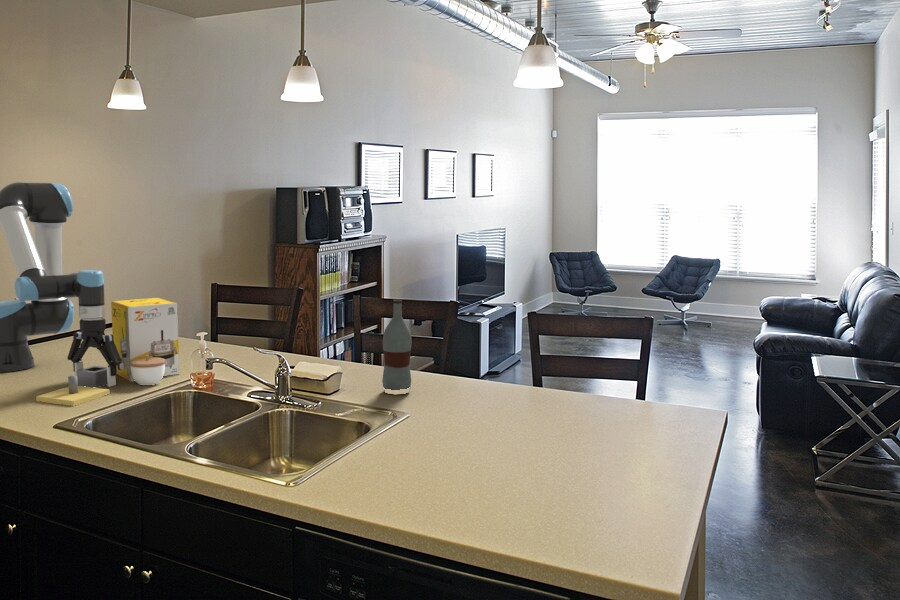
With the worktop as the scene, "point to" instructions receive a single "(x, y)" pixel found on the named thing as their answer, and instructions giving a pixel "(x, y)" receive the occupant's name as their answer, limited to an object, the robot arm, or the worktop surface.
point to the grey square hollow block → (92, 376)
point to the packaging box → (145, 332)
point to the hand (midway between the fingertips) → (95, 383)
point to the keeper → (72, 394)
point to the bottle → (397, 351)
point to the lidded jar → (147, 370)
